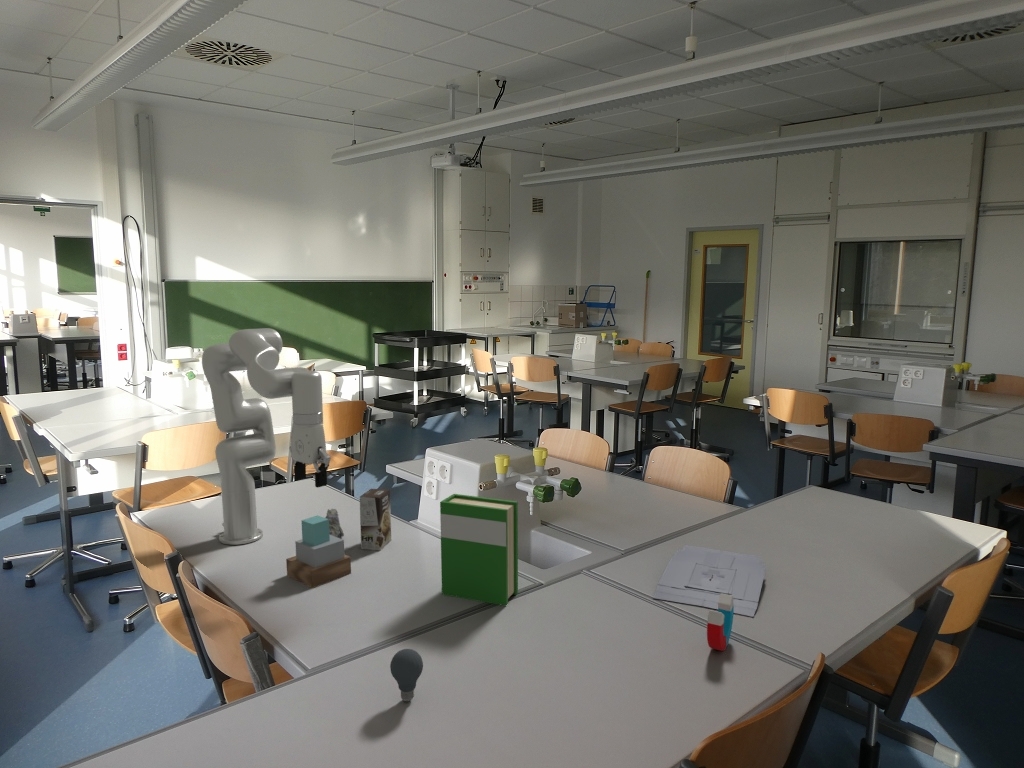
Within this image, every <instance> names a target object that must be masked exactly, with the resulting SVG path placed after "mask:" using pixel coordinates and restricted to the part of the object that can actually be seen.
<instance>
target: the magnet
mask: <svg viewBox="0 0 1024 768" xmlns="http://www.w3.org/2000/svg"><path fill="white" fill-rule="evenodd" d="M733 612H734V600H733V596H732V595H728V594H723V593H721V594H720V597H719V601H718V609H717V611H715V610H711V609H709V610H708V615H707V625H706V637H707V638H706V639H707V645H708V648H710V649H713V650H717V651H721V652H723V651H725V650H726V648H727V646H728V644H729V641H730V638H731V635H732V634H731V633H732V629H733V621H734V613H733Z"/></svg>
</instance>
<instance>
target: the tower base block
mask: <svg viewBox="0 0 1024 768" xmlns="http://www.w3.org/2000/svg"><path fill="white" fill-rule="evenodd" d="M351 559H352V558H351V556H349V555H346V554H344V558H343V559H340V560H337V561H334V562H331V563H329V564H326V565H323V566H320V567H317V568H314V567H312V566H310V565H308V564H305V563H303V562H301V561H299V560H297V559H296V555H295V556H291V557H289V558H288V557H287V558H286V560H285V561H286V576H287V577H289V578H291V579H293V580H295V581H298V582H299V583H301V584H304V585H305V586H308V587H310V588H312V589H313V588H316V587H319V586H321V585H324V584H327V583H329V582H332V581H335V580H338V579H340V578H343V577H346V576H349V575H350V574H351V575H352V564H351ZM337 578H338V579H337Z"/></svg>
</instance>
